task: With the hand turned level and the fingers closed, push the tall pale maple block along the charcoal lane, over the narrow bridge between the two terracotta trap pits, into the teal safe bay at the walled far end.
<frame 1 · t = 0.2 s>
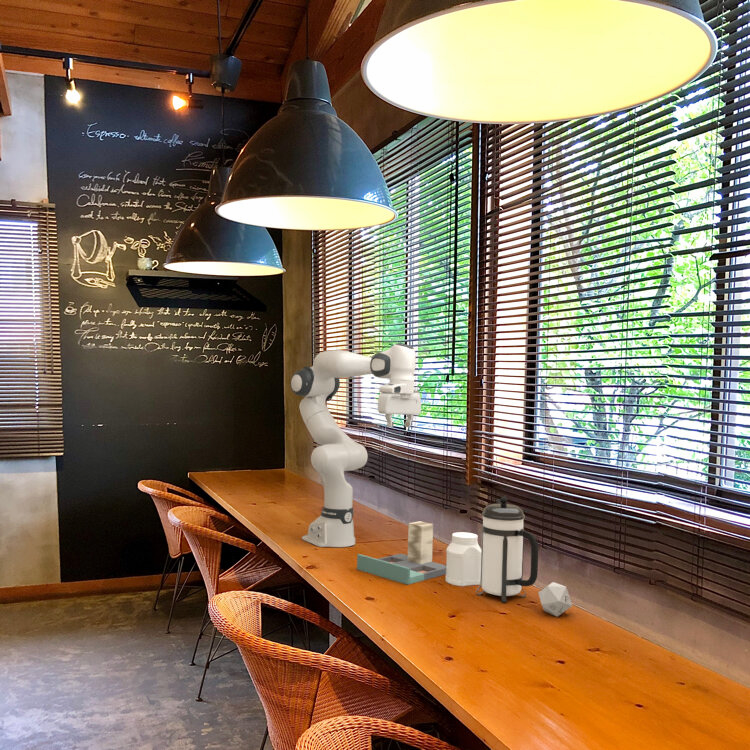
hand: (398, 426, 252), 48 cm above the table, tool pointing down, fingers open, 8 cm apart
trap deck: (404, 571, 236), on the table
die: (554, 613, 197), on the table
maple block: (419, 561, 242), point 2 cm above the table, touching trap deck
coffee press: (505, 597, 211), on the table
jar: (463, 582, 226), on the table
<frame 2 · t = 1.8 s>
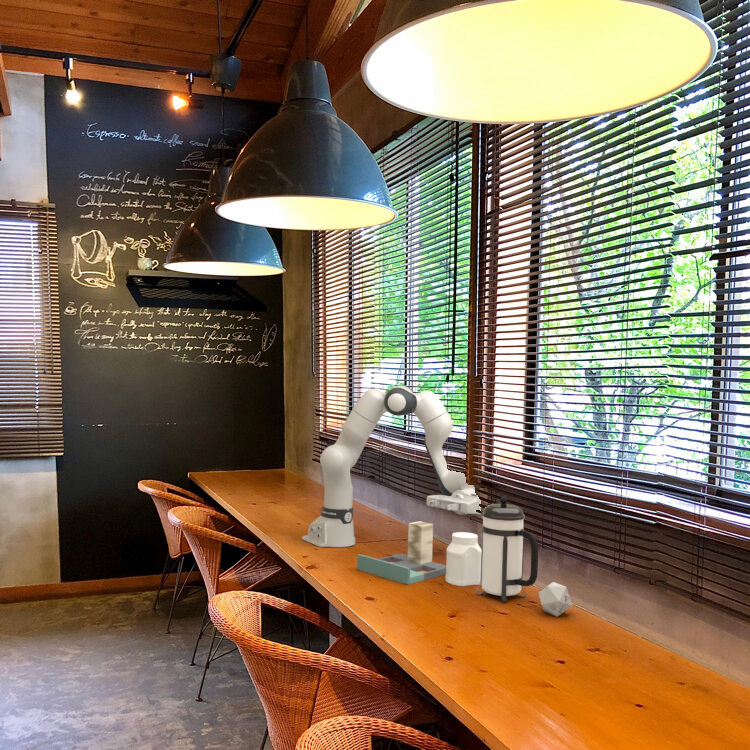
hand: (438, 506, 248), 20 cm above the table, tool horizontal, fingers open, 6 cm apart
nothing on the table moved.
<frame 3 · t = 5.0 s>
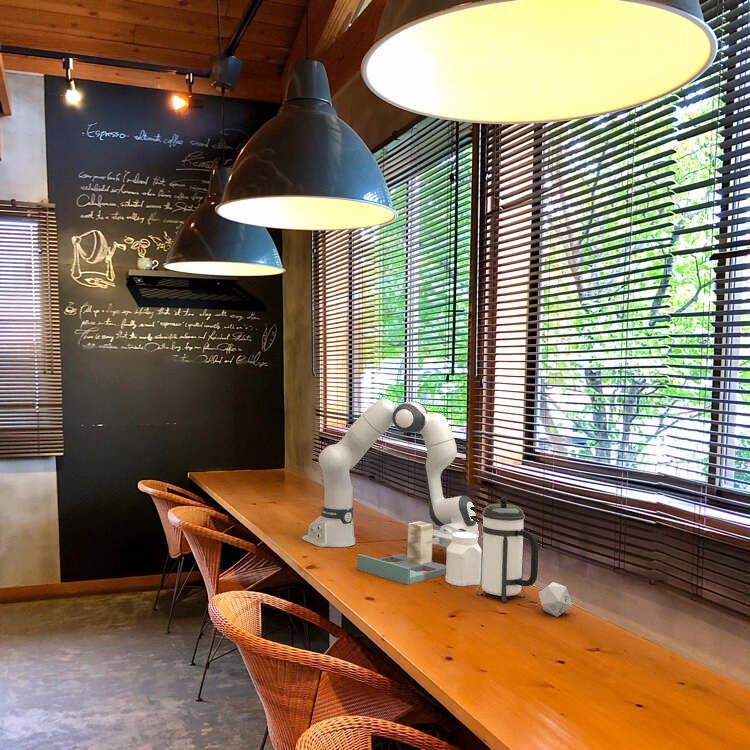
hand: (425, 541, 244), 8 cm above the table, tool horizontal, fingers closed, pressing on maple block
maple block: (419, 561, 242), point 2 cm above the table, touching gripper, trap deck
everything else where it was.
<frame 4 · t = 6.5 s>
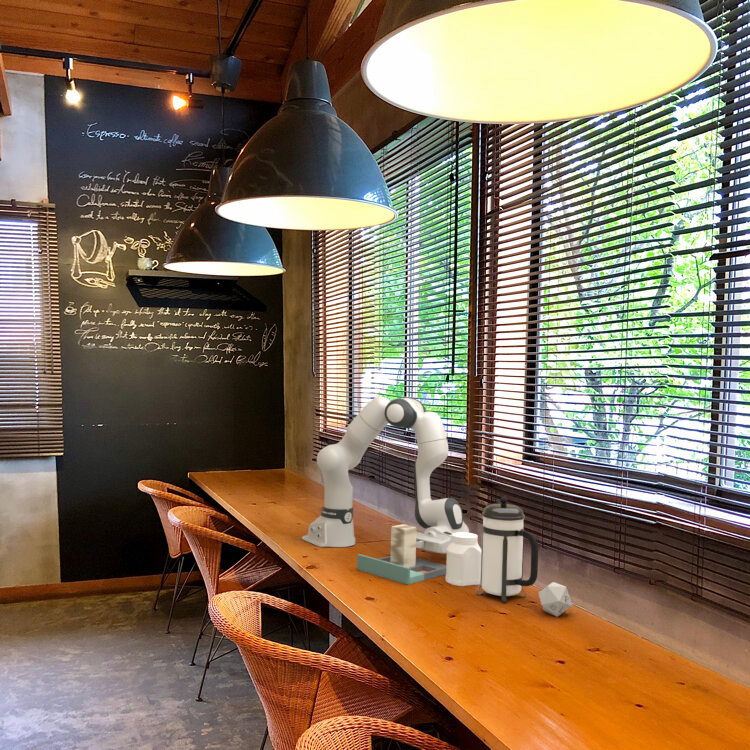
hand: (409, 545, 238), 8 cm above the table, tool horizontal, fingers closed
maple block: (402, 565, 235), point 2 cm above the table
everything else where it was.
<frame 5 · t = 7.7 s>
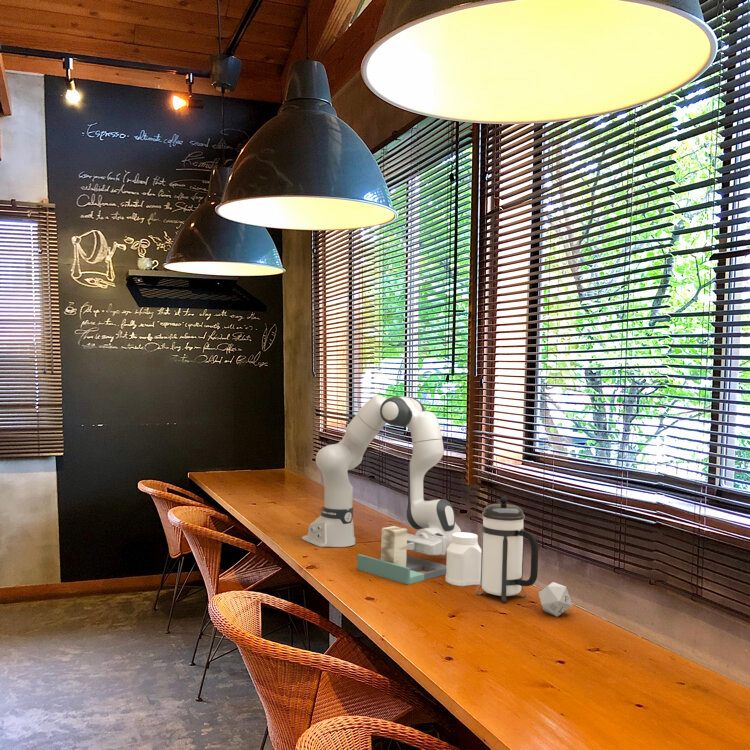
hand: (399, 546, 234), 9 cm above the table, tool horizontal, fingers closed
maple block: (393, 567, 232), point 2 cm above the table
everything else where it was.
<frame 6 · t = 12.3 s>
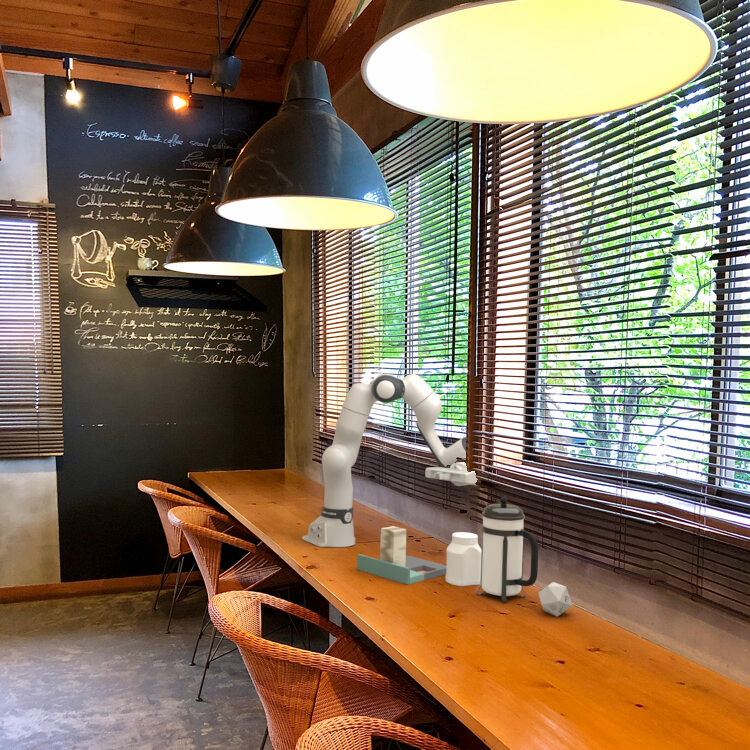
hand: (436, 476, 253), 30 cm above the table, tool horizontal, fingers closed
maple block: (392, 568, 232), point 2 cm above the table, touching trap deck
everything else where it was.
at the end: maple block 0.4 cm from the target spot on the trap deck, point 2.0 cm above the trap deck's base; maple block tilted 0°; maple block moved 13.9 cm from its start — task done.
